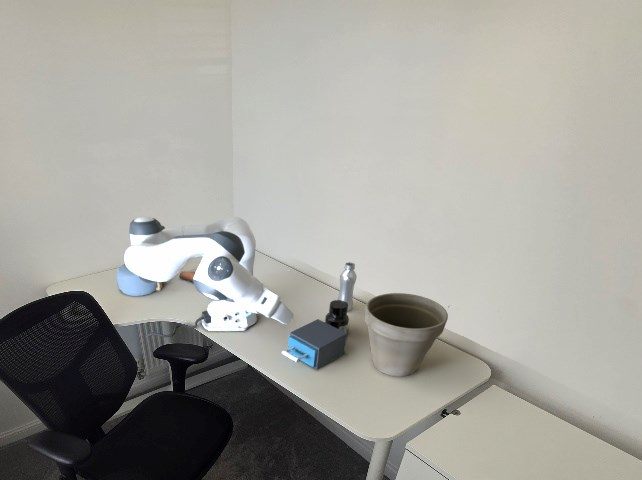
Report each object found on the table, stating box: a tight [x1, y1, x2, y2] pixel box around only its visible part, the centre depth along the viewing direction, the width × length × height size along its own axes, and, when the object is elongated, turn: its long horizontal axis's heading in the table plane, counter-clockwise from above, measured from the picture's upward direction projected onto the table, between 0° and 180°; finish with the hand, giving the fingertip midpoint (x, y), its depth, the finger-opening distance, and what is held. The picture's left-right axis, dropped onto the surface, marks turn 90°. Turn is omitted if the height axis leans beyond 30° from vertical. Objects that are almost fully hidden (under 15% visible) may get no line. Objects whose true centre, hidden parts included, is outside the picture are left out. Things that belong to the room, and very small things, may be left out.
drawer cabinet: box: [289, 318, 348, 370], centre depth 155 cm, size 15×14×9 cm
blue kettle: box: [115, 263, 164, 297], centre depth 200 cm, size 19×20×12 cm
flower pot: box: [364, 292, 449, 378], centre depth 145 cm, size 25×25×22 cm
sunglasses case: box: [178, 270, 196, 283], centre depth 207 cm, size 18×7×7 cm
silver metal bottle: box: [337, 261, 357, 312], centre depth 179 cm, size 6×7×20 cm
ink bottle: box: [324, 299, 350, 334], centre depth 166 cm, size 10×9×12 cm
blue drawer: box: [281, 335, 317, 369], centre depth 153 cm, size 19×12×7 cm, turn 130°
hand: (275, 315), depth 133 cm, fingers closed
